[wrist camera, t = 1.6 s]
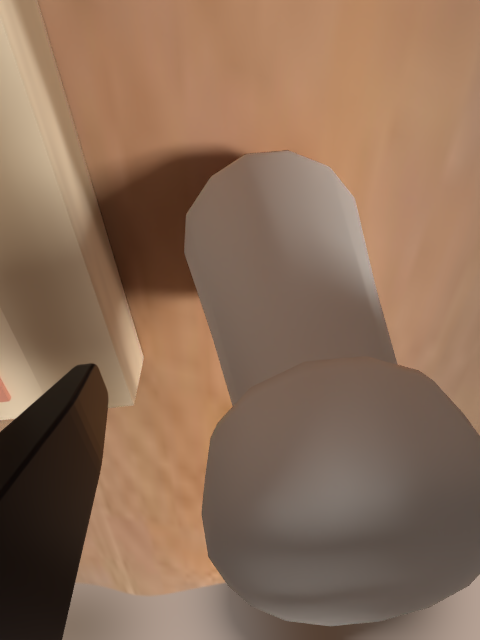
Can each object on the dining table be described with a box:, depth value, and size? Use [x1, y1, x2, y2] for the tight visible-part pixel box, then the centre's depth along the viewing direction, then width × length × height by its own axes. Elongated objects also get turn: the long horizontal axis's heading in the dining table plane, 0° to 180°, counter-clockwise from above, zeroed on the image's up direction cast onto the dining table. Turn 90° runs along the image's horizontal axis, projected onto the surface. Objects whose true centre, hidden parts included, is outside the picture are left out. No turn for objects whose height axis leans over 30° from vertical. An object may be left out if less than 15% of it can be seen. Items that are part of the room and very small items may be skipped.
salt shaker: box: [184, 150, 480, 626], centre depth 11 cm, size 6×6×13 cm
